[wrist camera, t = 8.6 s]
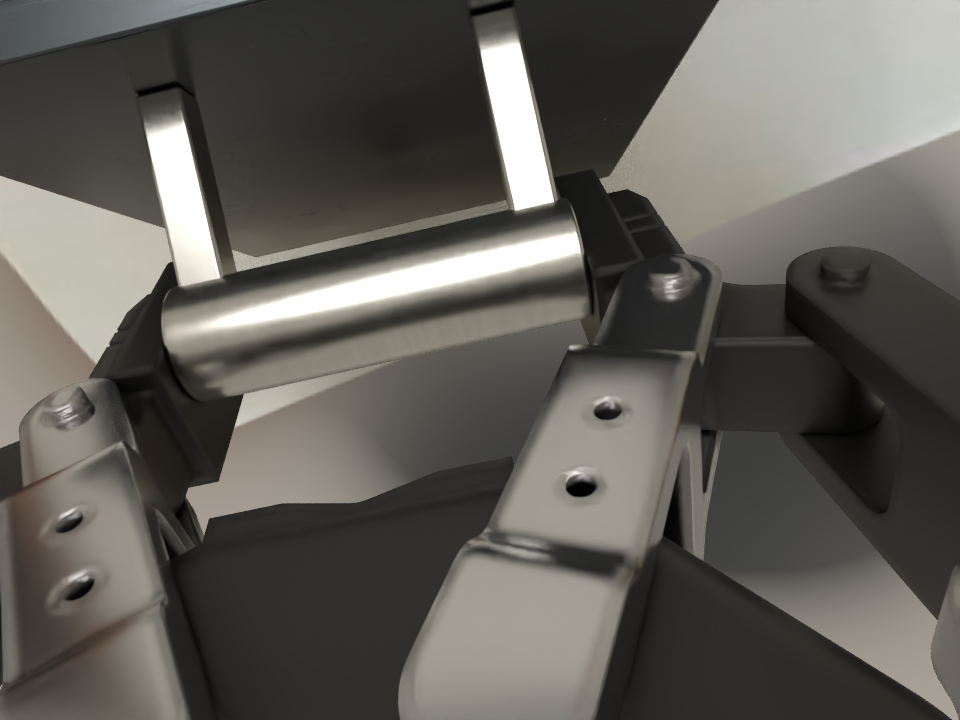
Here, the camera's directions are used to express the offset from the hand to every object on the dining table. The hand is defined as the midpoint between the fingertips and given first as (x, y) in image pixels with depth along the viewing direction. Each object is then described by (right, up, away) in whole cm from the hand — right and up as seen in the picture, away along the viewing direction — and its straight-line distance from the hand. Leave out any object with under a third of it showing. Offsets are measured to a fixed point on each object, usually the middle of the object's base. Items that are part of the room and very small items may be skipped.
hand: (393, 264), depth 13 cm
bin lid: (-1, +4, +4) cm, 5 cm away
